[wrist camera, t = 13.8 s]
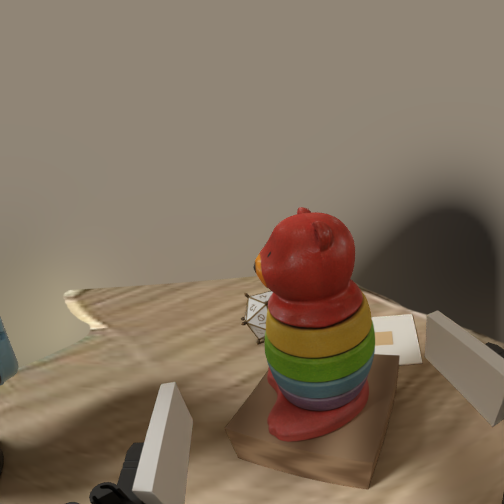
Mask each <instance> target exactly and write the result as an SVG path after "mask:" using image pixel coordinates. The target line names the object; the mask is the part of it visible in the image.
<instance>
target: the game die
mask: <svg viewBox="0 0 504 504" xmlns="http://www.w3.org/2000/svg"><path fill="white" fill-rule="evenodd" d="M272 293H273V292H272V291H268V292H265V293H261V294H257V295H253V296H249V295H248V294H247V293H244V294H245V296H246V297H247V298H248V300H247V306H246V312H245V317H242V318H241V320H245V322H242V324H241V325H246V324H247V325H248V327H249V328H250V329H251V330H252V332H253V333H254V334H255V336H256V337H257V338H258V340H257V345H258V344H259V343H260V340H261V339H264V338H265V331H266V316H267V310H268V301H269V298H270V296H271V295H272Z"/></svg>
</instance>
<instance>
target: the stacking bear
mask: <svg viewBox="0 0 504 504" xmlns="http://www.w3.org/2000/svg"><path fill="white" fill-rule="evenodd" d="M354 262H355V246H354V240H353V237H352V235H351V233H350V231H349V230H348V228H347V227H346V226H345V225H344V224H343V223H342V222H341V221H340V220H339V219H337V218H336V217H333V216H331V215H328V214H324V213H311V212H310V211H309V210H308V209H306V208H302V207H301V208H298V211H297V215H293V216H290V217H288V218H286V219H284V220H283V221H281V222H280V223H279V224H278V225H277V226H276V227H275V228H274V230H273V232H272V234H271V236H270V238H269V240H268V242H267V243H266V245H265V246H264V248H263V249H262V250H261V252H260V253H259V255H258V257H257V258H256V260H255V264H254V270H255V272H256V274H257V276H258V277H259V279H260V280H261V282H262V283H263V284H264V285H265V286H266V287H267V288H269V289H270V290H271V291H272V292H273V293H272V295H271V296H270V298H269V301H268V310H267V316H266V331H265V354H266V358H267V362H268V365H269V368H268V375H267V380H268V383H269V384H270V385H271V386H272V387H273V388H274V390H275V391H276V393H277V400H276V403H275V405H274V406H273V408H272V409H271V411H270V413H269V416H268V419H267V424H268V426H269V433H270V434H271V435H273V436H276V437H277V439H279V440H281V441H287V442H291V441H301V440H307V439H312V438H316V437H319V436H322V435H325V434H328V433H330V432H332V431H334V430H336V429H338V428H340V427H342V426H344V425H345V424H347V423H348V422H349V421H351V420H352V419H353V418H355V417H356V416H357V415H358V414H359V413H360V412H361V411H362V409H363V408H364V407H365V405H366V403H367V400H368V397H369V385H368V380H367V377H368V374H369V371H370V369H371V366H372V362H373V358H374V353H375V331H374V325H373V321H372V318H371V312H370V308H369V304H368V301H367V299H366V297H365V295H364V294H363V293H362V291H361V290H360V289H359V287H358V286H357V285H356V284H355V283H354V282H353V281H352V280H351V279H350V278H351V275H352V272H353V268H354Z"/></svg>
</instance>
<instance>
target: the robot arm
mask: <svg viewBox="0 0 504 504" xmlns="http://www.w3.org/2000/svg"><path fill="white" fill-rule="evenodd" d="M425 358H426V359H427V360H428V361H429V362H430V363H431V364H432V365H433V366H434V367H435V368H436V369H437V370H438V371H439V372H440V373H441V374H442V375H443V376H444V377H445V378H446V379H447V380H448V381H449V382H450V383H451V384H452V385H453V386H454V387H455V388H456V389H457V390H458V391H459V392H460V393H461V394H462V395H463V396H464V397H465V398H466V399H467V400H468V401H469V402H470V403H471V405H472V406H473V407H474V408H475V409H476V410H477V411H478V412H479V413H480V414H481V415H482V416H483V417H484V418H485V419H486V420H487V421H488V423H489V424H490V425H491V426H492V427H493V426H495V425H496V424H498V423H499V422H500V421H502V420H503V419H504V350H503V349H502V348H501V347H499V346H498V345H495V344H492V343H489V342H488V343H486V344H484V343H482V342H481V341H480V340H478V339H477V338H475V337H474V336H473V335H471V334H470V333H469V332H467V331H466V330H464V329H463V328H462V327H460V326H459V325H457V324H456V323H455V322H453V321H452V320H450V319H449V318H447V317H446V316H445V315H443V314H442V313H440V312H439V311H436V312H433V313H431V314H428V315H427V322H426V344H425ZM17 371H18V361H17V359H16V356H15V354H14V351H13V349H12V346H11V344H10V341H9V339H8V336H7V333H6V331H5V328H4V326H3V323H2V320H1V317H0V385H3V384H4V382H5V381H6V380H8V379H9V378H11V377H13V376H14V375H15V374H16V373H17ZM192 427H193V419H192V417H191V415H190V413H189V411H188V409H187V406H186V404H185V402H184V400H183V398H182V396H181V393H180V391H179V389H178V387H177V385H176V382H172V383H165V384H161V386H160V389H159V393H158V396H157V399H156V403H155V406H154V410H153V413H152V417H151V420H150V424H149V428H148V431H147V435H146V438H145V442H144V443H133V445H132V446H131V447H130V448H129V450H128V451H127V454H126V457H125V462H124V463H123V469H122V470H121V473H120V477H119V480H118V483H117V485H116V484H113V483H111V482H104V483H101V484H98V485H97V486H96V487H94V488H93V490H92V491H91V492H90V497H89V498H90V502H91V503H92V504H185V493H186V482H187V472H188V463H189V453H190V444H191V436H192ZM2 466H3V454H2V450H1V448H0V474H1V471H2ZM66 504H79V503H76V502H69V503H66ZM502 504H504V494H503V500H502Z"/></svg>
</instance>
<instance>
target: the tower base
mask: <svg viewBox="0 0 504 504" xmlns="http://www.w3.org/2000/svg"><path fill="white" fill-rule="evenodd" d="M399 359H400V355H382V354H374V358H373V362H372V366H371V369H370V371H369V374H368V377H367V380H368V385H369V397H368V400H367V403H366V405H365V407H364V408H363V409H362V411H361V412H360V413H359V414H358V415H357V416H356V417H355V418H353V419H352V420H351V421H349V422H348V423H347V424H345V425H344V426H342V427H340V428H338V429H336V430H334V431H332V432H330V433H328V434H325V435H322V436H319V437H316V438H312V439H307V440H301V441H291V442H287V441H281V440H279V439H277V437H276V436H273V435H271V434H270V433H269V426H268V424H267V419H268V416H269V413H270V411H271V409H272V408H273V406H274V405H275V403H276V400H277V393H276V391H275V390H274V388H273V387H272V386H271V385H270V384H269V383H268V380H267V375H268V371H267V372H266V374H265V375H264V377H263V378H262V379H261V381H260V382H259V384H258V385H257V386H256V388H255V389H254V390H253V392H252V393H251V394H250V396H249V397H248V398H247V400H246V401H245V402H244V404H243V405H242V406H241V408H240V409H239V410H238V412H237V413H236V414H235V415H234V417H233V418H232V419H231V421H230V422H229V423H228V424H227V426H226V427H225V430H226V432H227V435H228V437H229V439H230V441H231V443H232V446H233V448H234V450H235V452H236V454H237V456H238V458H241V459H243V460H246V461H249V462H252V463H255V464H259V465H262V466H265V467H268V468H272V469H275V470H278V471H282V472H286V473H289V474H293V475H297V476H301V477H305V478H309V479H314V480H318V481H323V482H327V483H332V484H338V485H343V486H349V487H355V488H362V489H368V487H369V485H370V482H371V479H372V476H373V473H374V470H375V467H376V464H377V461H378V458H379V455H380V451H381V448H382V444H383V441H384V437H385V434H386V430H387V426H388V423H389V419H390V415H391V410H392V406H393V402H394V397H395V393H396V387H397V378H398V369H399Z"/></svg>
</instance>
